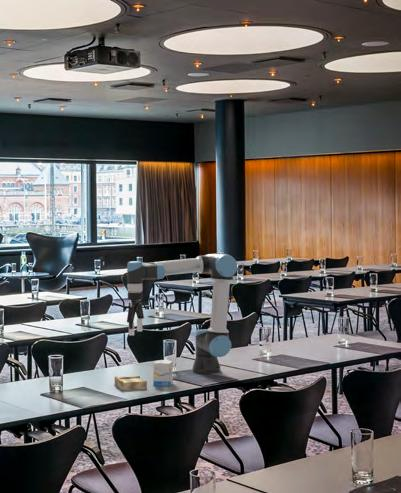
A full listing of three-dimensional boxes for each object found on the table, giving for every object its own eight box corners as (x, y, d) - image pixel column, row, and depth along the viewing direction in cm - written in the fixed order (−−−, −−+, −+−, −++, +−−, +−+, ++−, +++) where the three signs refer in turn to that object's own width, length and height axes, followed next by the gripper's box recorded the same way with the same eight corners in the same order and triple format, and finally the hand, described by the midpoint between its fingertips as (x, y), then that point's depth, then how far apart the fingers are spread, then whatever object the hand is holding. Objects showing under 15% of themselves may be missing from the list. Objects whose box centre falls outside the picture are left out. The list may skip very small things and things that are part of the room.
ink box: (169, 386, 449) (169, 363, 449) (153, 386, 451) (152, 362, 450) (173, 383, 458) (173, 360, 457) (157, 382, 459) (157, 359, 459)
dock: (139, 383, 458) (139, 374, 457) (146, 388, 444) (146, 379, 444) (114, 385, 453) (114, 376, 453) (121, 390, 440) (121, 381, 440)
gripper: (135, 289, 470) (136, 329, 471) (120, 294, 445) (120, 336, 447) (149, 289, 468) (149, 329, 469) (134, 294, 444) (135, 337, 445)
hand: (135, 333), depth 458 cm, fingers open, 13 cm apart
